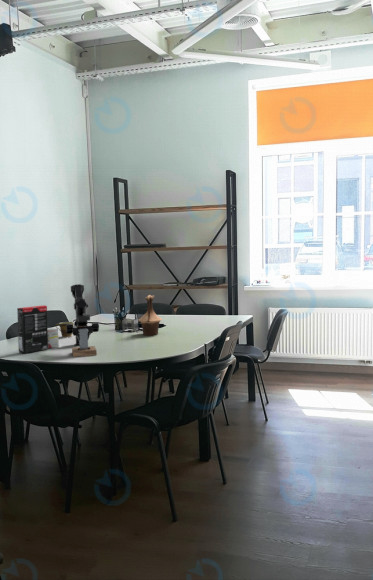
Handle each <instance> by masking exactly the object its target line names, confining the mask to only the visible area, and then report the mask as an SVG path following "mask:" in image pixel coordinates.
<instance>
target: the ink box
mask: <svg viewBox="0 0 373 580" xmlns="http://www.w3.org/2000/svg"><path fill="white" fill-rule="evenodd" d="M47 330H48V349H49V348H53V349H55V348H59V347H60V345H59V341H60V340H59V329H58V327H57V328H56V327H47Z"/></svg>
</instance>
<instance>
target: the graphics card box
mask: <svg viewBox="0 0 373 580" xmlns="http://www.w3.org/2000/svg"><path fill="white" fill-rule="evenodd" d="M16 313H17V334H18V335H17V339H18V340H17V341H18V353H21V354H29V353H34V352H41V351H47V350H49V348H48V330H47V328H48V306H47V305H44V304H43V305H35V306H25V307H24V306H23V307H18V308H17V312H16Z"/></svg>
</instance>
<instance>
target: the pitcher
mask: <svg viewBox="0 0 373 580" xmlns="http://www.w3.org/2000/svg"><path fill="white" fill-rule="evenodd" d="M154 297H155V295H151V294H149V295H147V296H146V297H145V300H146V302H147V311H146V312H145V313H144V314H143V315H142V316H141V317H140V318H138V320H137V321H139V322H140V323H141V329H142V335H143V336H155V335H158V334H159V327H160V322H161V321H162V320H163V319H162V318H161V317H160V316H158V315H157V314H156V312H155V310H154V307H153V300H154Z"/></svg>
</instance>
